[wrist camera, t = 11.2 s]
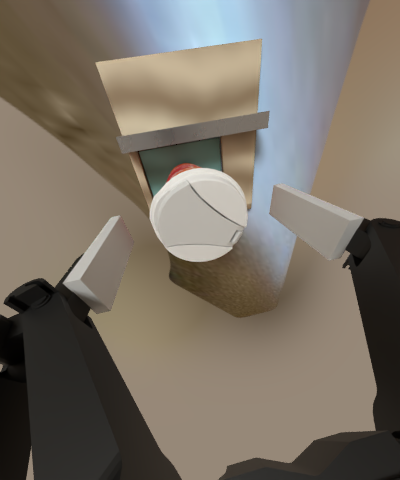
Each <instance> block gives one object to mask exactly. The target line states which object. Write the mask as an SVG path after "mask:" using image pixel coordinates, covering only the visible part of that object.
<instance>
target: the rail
mask: <svg viewBox="0 0 400 480" xmlns="http://www.w3.org/2000/svg"><path fill="white" fill-rule="evenodd" d="M268 121H269V111H266V112H260V113H254V114H248V115H243V116H237V117H231V118H225V119H219V120H213V121H208V122H202V123H196V124H190V125H184V126H178V127H173V128H167V129H161V130H155V131H149V132H143V133H137V134H132V135H126V136H120V137H116V139H117V141H118V144H119V146H120V149H121V151H122V154H123V153H129V152H134V151H140V150H146V149H151V148H157V147H162V146H168V145H174V144H179V143H185V142H191V141H196V140H202V139H207V138H213V137H219V136H224V135H230V134H236V133H241V132H247V131H252V130H258V129H264V128H268Z"/></svg>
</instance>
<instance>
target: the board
mask: <svg viewBox="0 0 400 480" xmlns="http://www.w3.org/2000/svg"><path fill="white" fill-rule="evenodd" d="M261 47H262V39H257V40H250V41H243V42H236V43H229V44H222V45H215V46H208V47H201V48H194V49H187V50H180V51H173V52H166V53H159V54H152V55H145V56H138V57H131V58H124V59H117V60H110V61H103V62H96V65H97V68H98V71H99V74H100V76H101V79H102V82H103V84H104V87H105V90H106V93H107V95H108V98H109V101H110V103H111V106H112V109H113V112H114V114H115V117H116V120H117V122H118V125H119V128H120V131H121V133H122V136H126V135H132V134H137V133H143V132H149V131H155V130H161V129H167V128H173V127H178V126H184V125H190V124H196V123H202V122H208V121H213V120H219V119H225V118H231V117H237V116H243V115H248V114H254V113H257V110H258V94H259V78H260V63H261ZM220 138H221V158H222V172H223V173H225V174H227V175H228V176H230V177H231V178H232V179H234V180H235V181H236V182H237V183H238V185H239V186H240V187H241V189H242V191H243V193H244V195H245V199H246V204H247V209H250V208H251V203H252V188H253V172H254V157H255V141H256V130H252V131H247V132H241V133H236V134H230V135H224V136H220ZM139 154H140V157H141V160H142V163H143V166H144V169H145V172H146V175H147V178H148V181H149V184H150V187H151V190H152V193H153V196H155V195H156V194H157V193H158V192H159V191H160V189H161V188H162V187H163V186H164V185H165V184H166V182H167V179H168V177H169V174H170V173H171V171H172V170H173V169H174V168H175V167H176V166H178V165H180V164H183V163H191V164H194V165H197V166H199V167H201V168H209V169H215V170H218V171H221V160H220V141H219V138H213V139H208V140H202V141H196V142H191V143H185V144H180V145H174V146H168V147H163V148H157V149H152V150H146V151H140V152H139ZM129 155H130V158H131V161H132V163H133V166H134V169H135V171H136V174H137V177H138V180H139V182H140V185H141V188H142V190H143V193H144V196H145V199H146V201H147V204H148V207H149V209H150V208H151V203H152V200H153V197H152V194H151V191H150V188H149V185H148V182H147V179H146V176H145V173H144V170H143V167H142V164H141V161H140V158H139V155H138V152H137V151H134V152H129Z"/></svg>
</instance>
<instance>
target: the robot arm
mask: <svg viewBox="0 0 400 480" xmlns="http://www.w3.org/2000/svg"><path fill="white" fill-rule="evenodd" d="M269 214H270V215H271V216H273V217H274V218H275V219H276V220H278V221H279V222H280V223H282V224H283V225H284V226H285V227H287V228H288V229H289V230H290V231H292V232H293V233H294V234H296V235H297V236H298V237H300V238H301V239H302V240H303V241H305V242H306V243H307V244H308V245H310V246H311V247H312V248H314V249H315V250H316V251H317V252H319V253H320V254H321V255H322V256H324V257H325V258H326V259H328V260H333V259H338V258H341V256H342V255H343V253H344V251H345V250H347V251H348V252H350V255H349V257H348V258H347V260H346V262H345V263H344V264H343V268H345V267H346V266H347V265H350V267H349V269H350V270H351V274H352V278H353V283H354V287H355V292H356V296H357V300H358V305H359V310H360V314H361V318H362V323H363V327H364V332H365V336H366V341H367V345H368V349H369V354H370V358H371V363H372V367H373V372H374V376H375V381H376V385H377V395H376V398H375V400H374V403H373V416H374V423H375V428H376V431H365V432H344V433H338V434H335V435H331V436H328V437H325V438H321V439H318V440H314V441H313V442H312V443H311V444H310V445H309V446H308V447H307V448H306V449H305V450H304V451H303V452H302V453H301V454H300V455H299V456H298V457H297V458H296V459H295V460H294V461H293V462H292V463H284V462H278V461H272V460H266V459H261V458H253V459H250V460H246V461H243V462H240V463H236V464H233V465H229V466H227V470H226V473H225V474H224V475H223V476H222V477H220V478H219V480H400V221H396V220H392V219H386V218H377V219H373V220H371V221H370V220H367V219H365V218H364V217H361V216H359V215H356V214H354V213H352V212H350V211H347V210H345V209H342V208H340V207H337V206H335V205H333V204H330V203H328V202H326V201H323V200H321V199H318V198H316V197H314V196H311V195H309V194H306V193H304V192H302V191H299V190H297V189H295V188H292V187H290V186H287V185H285V184H283V183H282V184H277V185H274V187H273V193H272V200H271V206H270V213H269ZM133 244H134V241H133V239H132V237H131V235H130V233H129V231H128V229H127V227H126V225H125V223H124V221H123V219H122V217H121V216H115V217H111V218H110V220H109V221H108V222H107V224H106V225H105V226H104V228H103V229H102V231H101V232H100V233H99V234H98V236H97V237H96V239H95V240H94V241H93V243H92V244H91V245H90V247H89V248H88V249H87V251H86V252H85V253H84V254H82V255H81V256H80V257H79V258H77V259H76V261H75V262H74V263H73V265H72V267H70V268H69V270H68V272H66V274H65V275H64V276H63V278H62V279H61V280H60V281H59V283H58V284H57V285H56V287H55V288H54V287H53V286H52V285H50V284H49V283H48V282H47V281H46V280H44V279H42V278H41V279H40V278H38V279H35V280H32V281H30V282H27V283H25V284H23V285H22V286H20V287H18V288H17V289H15V290H14V291H13V292H12V293H10V294H9V296H8V297H7V298H6V299H5V301H4V304H5V305H7V306H9V307H10V308H12V309H14V310H16V311H17V312H19V314H17V315H14V316H12V317H10V318H6V317H4V316H2V315H0V364H2V365H3V368H2V370H1V372H0V480H26V476H27V470H28V463H29V457H30V451H31V445H32V459H33V472H34V480H182V479H181V478H180V476H179V474H178V473H177V471H176V469H175V467H174V466H173V465H172V463H171V462H170V461H169V460H168V459H167V458H166V457H165V456H164V454H163V453H162V452H161V450H160V448H159V447H158V445H157V443H156V441H155V439H154V437H153V435H152V433H151V432H150V430H149V428H148V426H147V424H146V422H145V421H144V418H143V416H142V414H141V413H140V411H139V409H138V407H137V405H136V403H135V401H134V399H133V397H132V396H131V393H130V392H129V390H128V388H127V386H126V384H125V382H124V380H123V378H122V376H121V374H120V372H119V371H118V369H117V367H116V365H115V363H114V361H113V359H112V357H111V355H110V354H109V352H108V350H107V348H106V346H105V344H104V342H103V340H102V338H101V337H100V334H99V332H98V331H97V329H96V327H95V325H94V323H93V321H92V319H91V318H90V317H89V316H88V313H89V311H90V308H91V309H92V310H93V311H94V312H95V313H96V314H99V313H103V312H107V311H110V310H111V308H112V305H113V302H114V299H115V296H116V293H117V290H118V288H119V285H120V282H121V279H122V276H123V273H124V270H125V267H126V264H127V262H128V259H129V256H130V253H131V250H132V247H133Z"/></svg>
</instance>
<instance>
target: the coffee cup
mask: <svg viewBox="0 0 400 480" xmlns="http://www.w3.org/2000/svg"><path fill="white" fill-rule="evenodd" d="M247 218H248V213H247V204H246V199H245V195H244V193H243V191H242V189H241V187H240V186H239V185H238V183H237V182H236V181H235V180H234V179H232V178H231V177H230V176H228V175H227V174H225V173H223V172H221V171H218V170H215V169H209V168H201V167H199V166H197V165H194V164H191V163H183V164H180V165H178V166H176V167H175V168H174V169H173V170H172V171H171V173H170V174H169V177H168V179H167V182H166V184H165V185H164V186H163V187H162V188H161V189H160V191H159V192H158V193H157V194H156V195H155V196H154V198H153V200H152V203H151V208H150V221H151V223H152V225H153V228H154V231H155V233H156V235H157V237H158V238H159V240H160V241H161V242H162V243H163V245H164V246H165V248H166V249H167V250H168V251H169V252H170V253H172V254H173V255H175V256H176V257H178V258H181V259H183V260H187V261H192V262H204V261H209V260H213V259H216V258H219V257H221V256H223V255H224V254H226V253H228V252H229V251H230V250H231V249H232V246H233V245H234V244H236V243H237V241H238V239H239V238H240V236H241V235H242V233H243V232H242V231H243V229H244V227H246V225H247Z"/></svg>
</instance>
